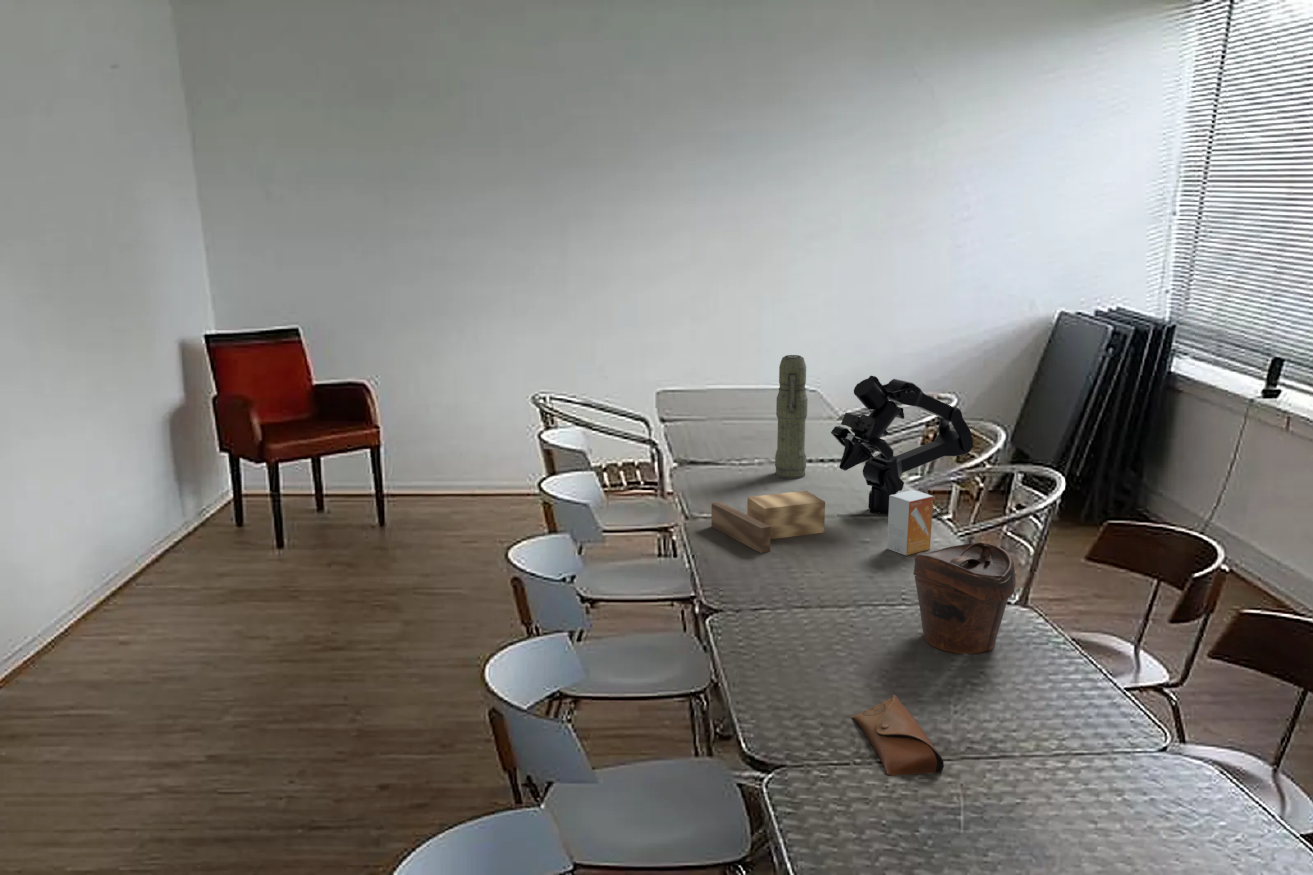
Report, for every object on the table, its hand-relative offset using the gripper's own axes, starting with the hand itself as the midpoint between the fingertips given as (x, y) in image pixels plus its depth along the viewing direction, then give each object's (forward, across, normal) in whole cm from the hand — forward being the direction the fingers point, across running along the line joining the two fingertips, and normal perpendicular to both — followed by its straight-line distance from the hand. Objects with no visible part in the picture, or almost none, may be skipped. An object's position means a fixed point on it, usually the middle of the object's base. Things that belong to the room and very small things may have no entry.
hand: (842, 469), depth 253 cm
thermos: (0, -40, +19) cm, 44 cm away
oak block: (+21, 0, -2) cm, 21 cm away
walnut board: (+30, 0, -12) cm, 33 cm away
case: (+27, +67, -8) cm, 73 cm away
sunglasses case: (+52, +90, -32) cm, 108 cm away
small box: (+10, +26, +9) cm, 29 cm away
